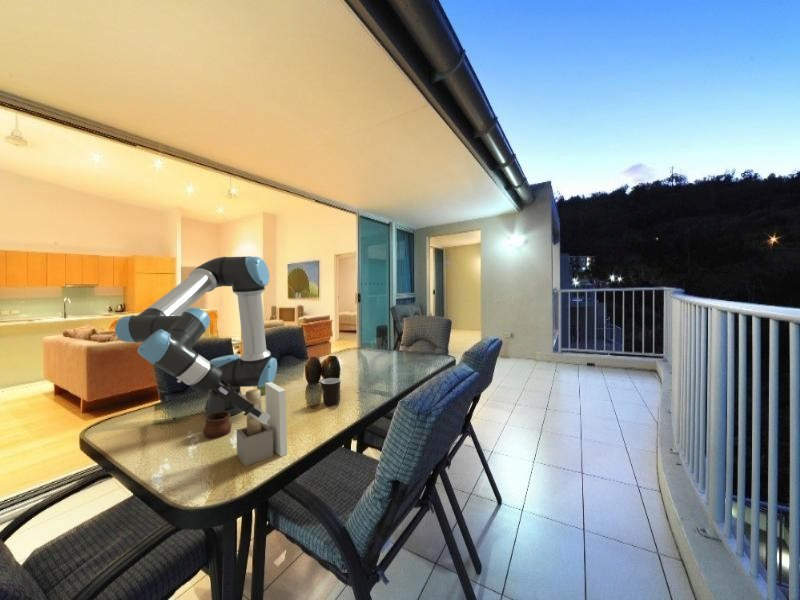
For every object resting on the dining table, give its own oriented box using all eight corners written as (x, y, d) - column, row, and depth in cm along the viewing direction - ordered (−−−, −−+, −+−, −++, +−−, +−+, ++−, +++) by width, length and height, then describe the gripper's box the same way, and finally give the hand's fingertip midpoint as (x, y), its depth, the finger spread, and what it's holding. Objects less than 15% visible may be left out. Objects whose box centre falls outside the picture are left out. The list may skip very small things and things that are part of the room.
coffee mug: (338, 406, 133) (338, 383, 133) (318, 406, 133) (318, 383, 133) (344, 397, 145) (343, 376, 144) (325, 397, 145) (325, 376, 144)
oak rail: (244, 446, 92) (243, 393, 91) (252, 439, 96) (250, 389, 95) (257, 446, 92) (255, 393, 91) (264, 440, 96) (262, 389, 95)
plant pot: (270, 396, 147) (269, 378, 147) (250, 396, 147) (250, 378, 147) (278, 390, 156) (277, 373, 156) (260, 390, 157) (259, 373, 156)
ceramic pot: (224, 419, 121) (224, 402, 121) (256, 428, 114) (256, 409, 113) (175, 441, 105) (174, 421, 104) (208, 453, 97) (208, 431, 97)
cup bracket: (247, 469, 87) (245, 399, 86) (235, 453, 96) (233, 389, 95) (287, 454, 95) (285, 390, 94) (272, 440, 103) (271, 381, 103)
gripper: (182, 377, 91) (238, 412, 102) (198, 397, 73) (265, 438, 84) (202, 356, 95) (254, 393, 105) (222, 371, 76) (283, 413, 87)
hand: (259, 413), depth 95 cm, fingers open, 13 cm apart
